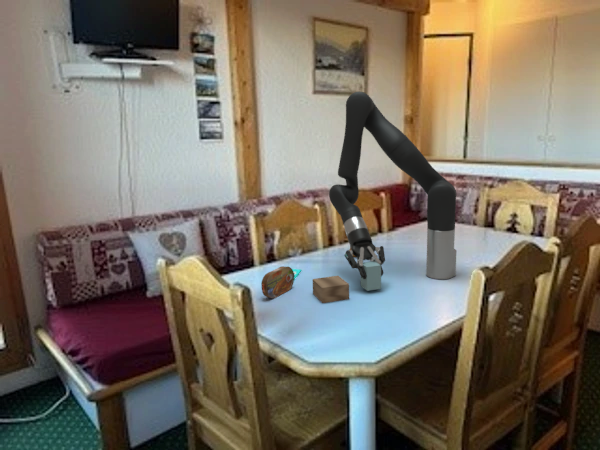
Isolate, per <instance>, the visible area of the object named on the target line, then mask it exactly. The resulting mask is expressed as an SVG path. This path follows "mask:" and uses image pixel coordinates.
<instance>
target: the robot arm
mask: <svg viewBox="0 0 600 450" xmlns="http://www.w3.org/2000/svg"><path fill="white" fill-rule="evenodd" d="M364 128H365V129H366V130H367V131H368V132H369V133H370V134H371V136H372V137H373V138H374V140H375V142H376V143H377V145H378V146H379V147H380V149H381V150H382V152H384V154H385V155H386V156H387V157H388V158H389V159H390V160H391V162H392V163H393V164H394V165H395V166H396V167H398V168H399V169H400V171H402V172H404V173H405V174H406V175H407V176H409V177H410V178H412V179H413V180H415V181H416V182H417V183H418V185H419V186H420V187H421V188H422V189H423V190H424V192H425V194H427V200H426V201H427V202H426V205H427V206H426V223H427V229H426V230H427V231H426V233H427V234H426V269H425V275H426V277H428V278H431V279H436V280H448V279H452V278H453V277H456V273H457V270H456V269H457V249H455V240H456V239H455V237H456V236H455V235H456V234H455V233H456V210H457V209H456V207H457V190H456V188H455V186H454V185H453V184H452V183H451V182H450V181H449V180H447V179H446V178H445V177H443V176H442V174H440V173H439V172H438V171H437V170H436V169H435V168H434V167H433V166H432V165H431V164H430V163H429V161H428V159H427V158H426V157H425V156H424V155H423V154H422V152H421V151H420V149H418V147H417V146H416V145H415V144H414V142H413V141H412V140H410V138H409V137H408V136H407V135H406V134H405V133H404V132H402V131H401V130H400V129H399V128H398V127H396V126H395V125H394V124H393V123H392V122H391V121H389V120H388V119H387V118H386V117H385V115H383V113H382V112H381V110H379V108H378V107H377V105H376V104H375V103H374V100H373V99H372V98H371V96H370V95H369V94H367V93H366V92H364V91H355V92H353V93H351V94H350V95H349V96H348V98H347V99H346V103H345V128H344V129H345V130H344V137H343V143H342V148H341V153H340V158H339V164H338V169H337V175H338V177H339V178H342V179H344V180H345V184H338V183H337V184H334V185H332V186H331V187H330V189H329V193H328V197H329V201H330V203H331V205H332V206H333V207H334V209H335V211H336V212H337V213H338V215H339V216H340V218H341V221H342V224H343V226H344V231H345V235H346V238H347V240H348V243H349V248H350V247H351V250H350V249H347V250H346V251H345V253H344V255H343V256H344V258H345V259H346V262H348V264H349V265H350V267H351V268H352V269H354V270H355V269H357V270H358V273H359V275H360V278H361V277H362V278H363V279H366V278H367V275H366V272H365V269H364V266H363V263H364V261H365V260H367V261H369V262H371V261H375V262H377V263H378V264H380V265H381V277H382V276H383V275H384V269H383V267H382V266H383V264H384V263H385V261H386V256H385V248H384V246H383V245H380V246H376V245H375V244H374V243H373V240H372V235H371V234H370V232H369V229H368V226H367V223H366V222H365V220H364V218H363V215H362V212H361V210H360V208H359V207H358V206H357V204H356V203H357V201H358V200H359V181H358V173H359V172H358V171H359V168H360V162H361V155H362V142H363V134H364ZM349 250H350V251H349ZM377 254H378V255H377ZM353 255H355V256H356V257H357V258H356V259H355V257H353Z"/></svg>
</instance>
